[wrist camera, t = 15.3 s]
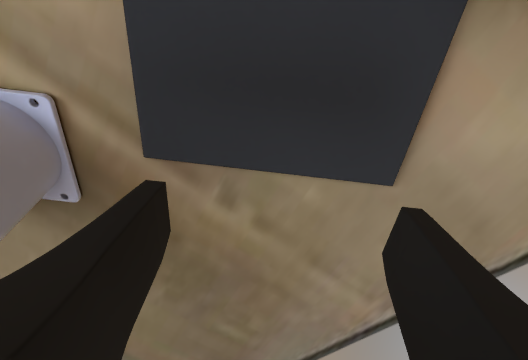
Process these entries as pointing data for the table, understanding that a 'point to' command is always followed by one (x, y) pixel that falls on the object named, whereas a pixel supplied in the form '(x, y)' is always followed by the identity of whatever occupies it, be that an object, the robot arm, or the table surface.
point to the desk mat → (287, 81)
